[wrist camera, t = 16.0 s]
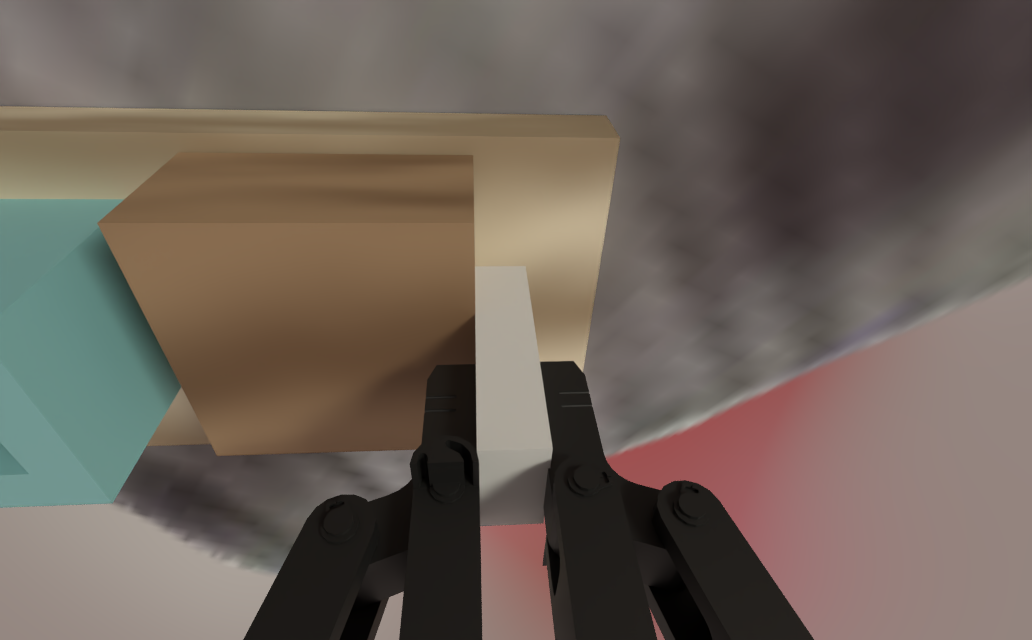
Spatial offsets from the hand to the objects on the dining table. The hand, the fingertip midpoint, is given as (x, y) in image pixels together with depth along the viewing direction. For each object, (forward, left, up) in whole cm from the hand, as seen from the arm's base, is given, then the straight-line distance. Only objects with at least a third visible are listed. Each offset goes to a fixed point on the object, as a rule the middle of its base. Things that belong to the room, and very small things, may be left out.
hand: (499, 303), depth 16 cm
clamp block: (0, -5, -2) cm, 5 cm away
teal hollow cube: (+1, -14, -2) cm, 14 cm away
